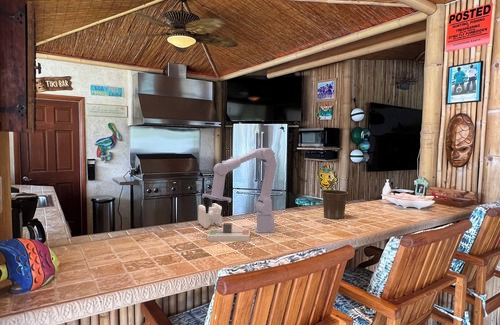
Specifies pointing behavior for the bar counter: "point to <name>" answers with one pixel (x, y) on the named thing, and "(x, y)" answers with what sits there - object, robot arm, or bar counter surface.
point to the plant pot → (334, 203)
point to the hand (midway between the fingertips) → (214, 214)
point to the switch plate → (229, 235)
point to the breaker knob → (227, 227)
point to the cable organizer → (210, 215)
